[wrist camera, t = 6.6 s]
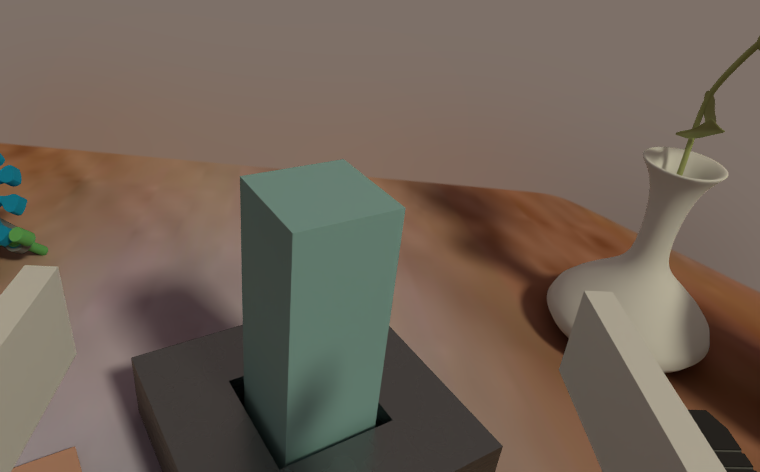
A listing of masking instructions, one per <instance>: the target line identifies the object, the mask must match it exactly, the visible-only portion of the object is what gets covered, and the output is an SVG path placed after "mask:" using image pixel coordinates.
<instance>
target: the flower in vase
mask: <svg viewBox="0 0 760 472" xmlns="http://www.w3.org/2000/svg"><path fill="white" fill-rule="evenodd" d="M757 49H759V50H760V36H759V38H758V40H757V42H756V43H755V44H754V45H753V46H751V47H750V48H749V49H748V50H747V51H746V52H745V53H744V54H743V55H741V56H740V57H739V58H738V59H737V60H736V61H735V62H734V63H733V64H732V65H731V66H730V67H729V68H728V69H727V71H726V72H725V73H724V74H723V75H722V76H721V77H720V78H719V79H718V81H717V82H716V83H715V84H714V85H713V87H712V88H711V89H710V91H707V92H706V93H705V97H704V101H703V103H702V105H701V108H700V110H699V112H698V115H697V117H696V120H695V123H694V125H693V128H692V129H691V130H685V131H680V132H677V133H676V135H679V136H682V137H685V138H689V139H688V142H687V145H686V148H685V150H684V149H678V148H672V147H653V148H649V149H646V150H645V151H644V153H643V158H644V160H645V163H646V165H647V168H648V172H649V178H650V190H649V198H648V204H647V208H646V212H645V216H644V219H643V222H642V226H641V229H640V231H639V233H638V236H637V238H636V240H635V242H634V243H633V245H632V247H631V248H630V249H629V250H628V251H627V252H626V253H624V254H622V255H620V256H616V257H611V258H606V259H600V260H596V261H591V262H587V263H583V264H580V265H578V266H575V267H573V268H570V269H568V270H566V271H564V272H563V273H561V274H560V275H559V276H558V277H557V278H556V279H555V281H554V282H553V283H552V284H551V285H550V287H549V289H548V292H547V304H548V307H549V310H550V313H551V315H552V317H553V319H554V321H555V323H556V324H557V326H558V327H559V329H560V330H561V331H562V332H563V333H564V334H565V335H566V336H567V337H568V338H569V337H570V334H571V330H572V327H573V324H574V321H575V318H576V315H577V312H578V308H579V305H580V302H581V299H582V296H583V293H584V291H603V292H613V293H614V295H615V297H616V298H617V300H618V301H619V303H620V304H621V306H622V308H623V309H624V311H625V312H626V314H627V316H628V317H629V319H630V320H631V322H632V323H633V325H634V327H635V328H636V330H637V331H638V333H639V334H640V336H641V338H642V339H643V341H644V342H645V344H646V345H647V347H648V349H649V350H650V352H651V353H652V355H653V356H654V358H655V360H656V361H657V363H658V364H659V366H660V367H661V369H662V371H663V372H664V373H671V372H675V371H680V370H682V369H685V368H688V367H690V366H693V365H695V364H697V363H698V362H700V361H701V360H702V359H703V358H704V357H705V356H706V354H707V353H708V350H709V347H710V331H709V326H708V323H707V321H706V318H705V317H704V315H703V313H702V311H701V310H700V308H699V306H698V305H697V303H696V302H695V300H694V299H693V298H692V297H691V296H690V294H689V293H688V292H687V291H686V289H685V288H684V287H683V286H682V285H681V284H680V283H679V281H678V280H677V279H676V278H675V277H674V275H673V274H672V272H671V270H670V268H669V256H670V251H671V248H672V245H673V242H674V239H675V237H676V235H677V233H678V231H679V229H680V226H681V225H682V223H683V221H684V219H685V218H686V216H687V214H688V212H689V211H690V210H691V208H692V207H693V205H694V204H695V203H696V201H697V200H698V199H699V198H700V197H701V196H702V195H703V194H704V193H705V192H706V191H707V190H709V189H710V188H711V187H713V186H714V185H716V184H718V183H719V182H721V181H723V180H725V179H726V178H727V177H728V172H727V170H726V169H725V168H724V167H723V166H722V165H721V164H719V163H718V162H716V161H714V160H713V159H710V158H708V157H706V156H703V155H701V154H698V153H695V152H692V151H691V149H692V145H693V142H694V139H695V138H701V137H705V136H710V135H714V134H719V133H723V132H725V131H724V130H722V129H721V128H720V127H719V126H718V125H717V124H716V116H715V99H714V96H713V95H714V93H715V92H716V91H717V89H718V88H719V87H720V86H721V85H722V83H723V82H724V81H725V80H726V79H727V78H728V77H729V76H730V75H731V74H732V73H733V72H734V71H735V70H736V69H737V68H738V67H739V66H740V65H741V64H742V63H743V62H744V61H745V60H746V59H747V58H748V57H749V56H750V55H752V54H753V53H754V52H755V51H756V50H757ZM703 114H704V117H705V123H703V124H701V125H700V122H701V120H702V117H703ZM699 125H700V126H699Z"/></svg>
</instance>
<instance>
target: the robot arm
mask: <svg viewBox="0 0 760 472" xmlns="http://www.w3.org/2000/svg"><path fill="white" fill-rule="evenodd" d="M76 354H77V353H76V349H75V344H74V339H73V334H72V330H71V325H70V320H69V316H68V311H67V306H66V301H65V297H64V292H63V287H62V283H61V278H60V273H59V268H58V267H54V266H32V265H25V266H24V267H23V268H22V269H21V271H20V272H19V273H18V274H17V276H16V277H15V278H14V279H13V280H12V282H11V283H10V284H9V285H8V287H7V288H6V289H5V290H4V292H3V293H2V294H1V295H0V472H11V471H12V469H13V467H14V466H15V464H16V462H17V460H18V458H19V457H20V455H21V453H22V451H23V449H24V448H25V446H26V444H27V442H28V440H29V439H30V437H31V435H32V433H33V431H34V430H35V428H36V426H37V424H38V422H39V421H40V419H41V417H42V415H43V413H44V412H45V410H46V408H47V406H48V404H49V403H50V401H51V399H52V397H53V395H54V394H55V392H56V390H57V388H58V386H59V385H60V383H61V381H62V379H63V377H64V376H65V374H66V372H67V370H68V368H69V367H70V365H71V363H72V361H73V359H74V358H75V356H76ZM559 371H560V374H561V376H562V378H563V380H564V383H565V385H566V387H567V390H568V392H569V394H570V397H571V399H572V401H573V404H574V406H575V408H576V411H577V413H578V415H579V418H580V420H581V422H582V425H583V427H584V429H585V432H586V434H587V436H588V439H589V441H590V443H591V446H592V448H593V450H594V453H595V455H596V457H597V460H598V462H599V464H600V467H601V469H602V471H603V472H757V471H754V470H753V466H752V464H751V463H750V461H749V460H748V458H747V457H746V455H745V454H742V452H741V448H740V447H739V445H738V444H737V442H736V441H735V439H734V438H733V436H732V435H731V434H730V432H729V431H728V429H727V428H726V427H725V426H723V425H722V424H721V423H720V422H719V421H718V420H717V419H715V418H714V417H713V416H712V415H711V414H710V413H708V412H707V411H706V410H687V408H686V407H685V405H684V404H683V402H682V400H681V399H680V397H679V396H678V394H677V393H676V391H675V389H674V388H673V386H672V385H671V383H670V382H669V380H668V378H667V377H666V375H665V374H664V372H663V371H662V369H661V367H660V366H659V364H658V363H657V361H656V360H655V358H654V356H653V355H652V353H651V352H650V350H649V349H648V347H647V345H646V344H645V342H644V341H643V339H642V338H641V336H640V334H639V333H638V331H637V330H636V328H635V327H634V325H633V323H632V322H631V320H630V319H629V317H628V316H627V314H626V312H625V311H624V309H623V308H622V306H621V304H620V303H619V301H618V300H617V298H616V297H615V295H614V293H613V292H603V291H584V293H583V296H582V299H581V302H580V305H579V308H578V312H577V315H576V318H575V321H574V324H573V327H572V330H571V334H570V337H569V340H568V343H567V346H566V349H565V352H564V356H563V359H562V362H561V365H560V368H559Z"/></svg>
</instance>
